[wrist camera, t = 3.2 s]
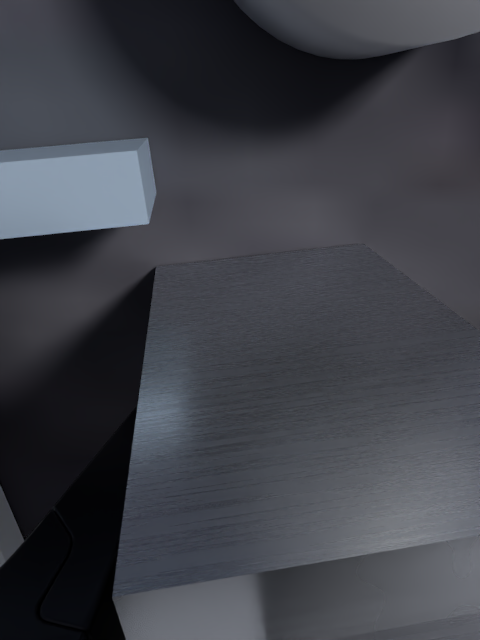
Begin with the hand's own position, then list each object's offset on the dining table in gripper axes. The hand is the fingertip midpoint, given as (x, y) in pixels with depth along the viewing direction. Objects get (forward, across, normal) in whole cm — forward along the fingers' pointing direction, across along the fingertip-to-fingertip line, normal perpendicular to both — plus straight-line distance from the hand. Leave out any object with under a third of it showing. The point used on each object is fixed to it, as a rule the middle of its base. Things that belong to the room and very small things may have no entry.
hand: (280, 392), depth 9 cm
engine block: (+2, 0, 0) cm, 2 cm away
